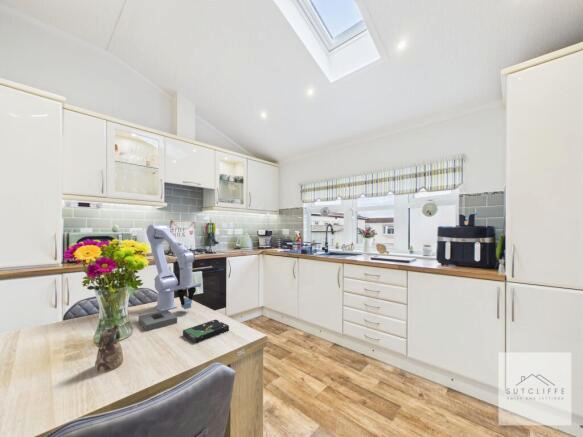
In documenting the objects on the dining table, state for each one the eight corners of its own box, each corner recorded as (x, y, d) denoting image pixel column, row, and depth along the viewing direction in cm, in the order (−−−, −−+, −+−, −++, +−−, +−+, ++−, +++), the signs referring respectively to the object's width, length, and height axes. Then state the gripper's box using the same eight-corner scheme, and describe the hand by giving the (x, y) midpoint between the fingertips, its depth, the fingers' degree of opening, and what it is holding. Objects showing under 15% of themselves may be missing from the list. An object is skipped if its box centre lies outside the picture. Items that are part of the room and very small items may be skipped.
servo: (180, 305, 127) (180, 296, 127) (186, 304, 129) (186, 295, 129) (186, 309, 121) (186, 300, 121) (192, 308, 123) (192, 299, 123)
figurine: (90, 368, 77) (90, 329, 77) (115, 357, 83) (115, 321, 84) (102, 375, 74) (102, 333, 74) (127, 363, 80) (127, 325, 80)
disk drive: (215, 325, 110) (182, 336, 99) (215, 319, 110) (182, 329, 99) (229, 332, 103) (195, 345, 92) (229, 325, 104) (195, 337, 92)
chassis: (138, 321, 114) (138, 315, 114) (167, 314, 122) (167, 309, 122) (146, 331, 103) (146, 325, 104) (177, 323, 112) (177, 317, 112)
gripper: (173, 280, 118) (173, 309, 117) (203, 275, 127) (203, 302, 127) (168, 277, 123) (168, 305, 123) (197, 273, 133) (197, 299, 132)
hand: (186, 303), depth 125 cm, fingers closed on servo, 3 cm apart
